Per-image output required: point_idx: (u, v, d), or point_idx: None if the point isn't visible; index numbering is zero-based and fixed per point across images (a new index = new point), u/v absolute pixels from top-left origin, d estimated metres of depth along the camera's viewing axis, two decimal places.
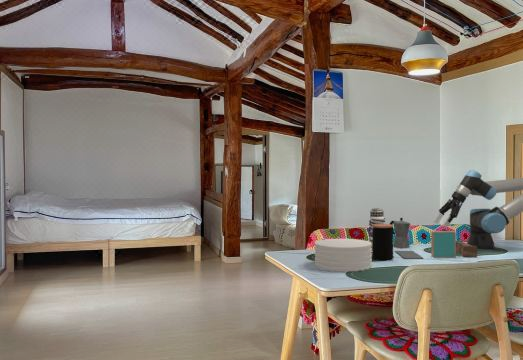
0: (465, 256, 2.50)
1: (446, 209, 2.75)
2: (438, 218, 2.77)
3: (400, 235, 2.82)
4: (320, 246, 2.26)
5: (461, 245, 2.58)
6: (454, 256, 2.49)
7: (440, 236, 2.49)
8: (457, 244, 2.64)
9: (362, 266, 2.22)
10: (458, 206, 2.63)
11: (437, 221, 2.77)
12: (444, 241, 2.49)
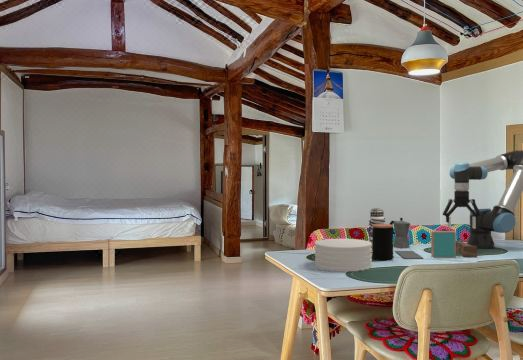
0: (465, 256, 2.50)
1: None
2: None
3: (400, 235, 2.82)
4: (320, 246, 2.26)
5: (461, 245, 2.58)
6: (454, 256, 2.49)
7: (440, 236, 2.49)
8: (457, 244, 2.64)
9: (362, 266, 2.22)
10: None
11: None
12: (444, 241, 2.49)
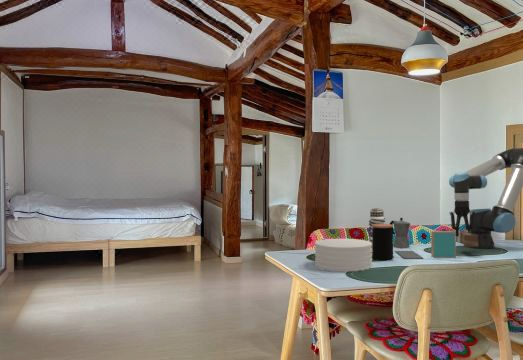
0: (466, 245, 2.50)
1: None
2: None
3: (400, 235, 2.82)
4: (320, 246, 2.26)
5: (462, 234, 2.58)
6: (454, 256, 2.49)
7: (440, 236, 2.49)
8: None
9: (362, 266, 2.22)
10: None
11: None
12: (444, 241, 2.49)
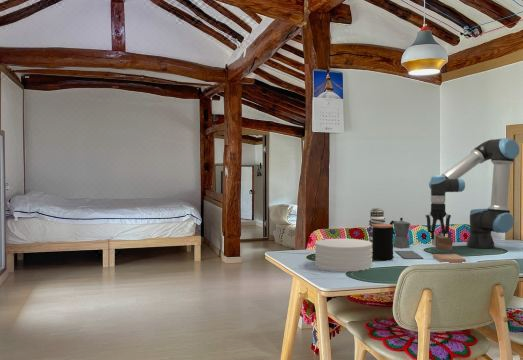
0: (440, 248, 2.47)
1: None
2: None
3: (400, 235, 2.82)
4: (321, 246, 2.26)
5: (437, 237, 2.55)
6: None
7: None
8: None
9: (363, 266, 2.22)
10: None
11: None
12: None
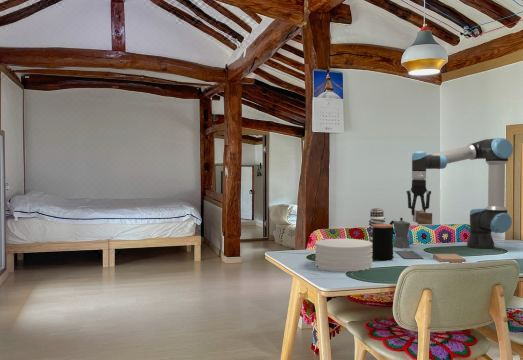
0: (420, 223, 2.48)
1: None
2: None
3: (400, 235, 2.82)
4: (321, 246, 2.26)
5: (417, 213, 2.56)
6: None
7: None
8: None
9: (363, 266, 2.22)
10: None
11: None
12: None
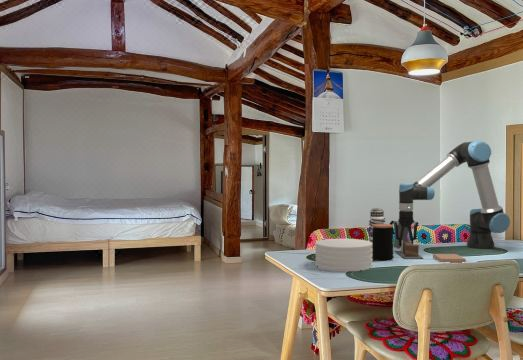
0: (406, 255, 2.50)
1: None
2: None
3: None
4: (321, 246, 2.26)
5: (404, 244, 2.58)
6: None
7: None
8: None
9: (363, 266, 2.22)
10: None
11: None
12: None
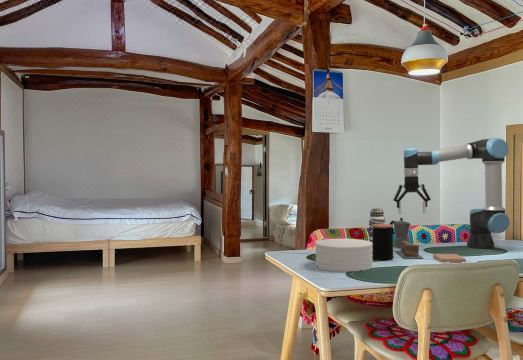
0: (406, 255, 2.50)
1: None
2: None
3: (400, 235, 2.82)
4: (321, 246, 2.26)
5: (404, 244, 2.58)
6: None
7: None
8: (402, 243, 2.64)
9: (363, 266, 2.22)
10: None
11: None
12: None
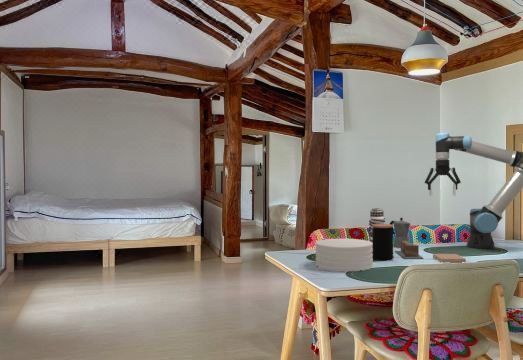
0: (406, 255, 2.50)
1: None
2: None
3: (400, 235, 2.82)
4: (321, 246, 2.26)
5: (404, 244, 2.58)
6: None
7: None
8: (402, 243, 2.64)
9: (363, 266, 2.22)
10: None
11: None
12: None
